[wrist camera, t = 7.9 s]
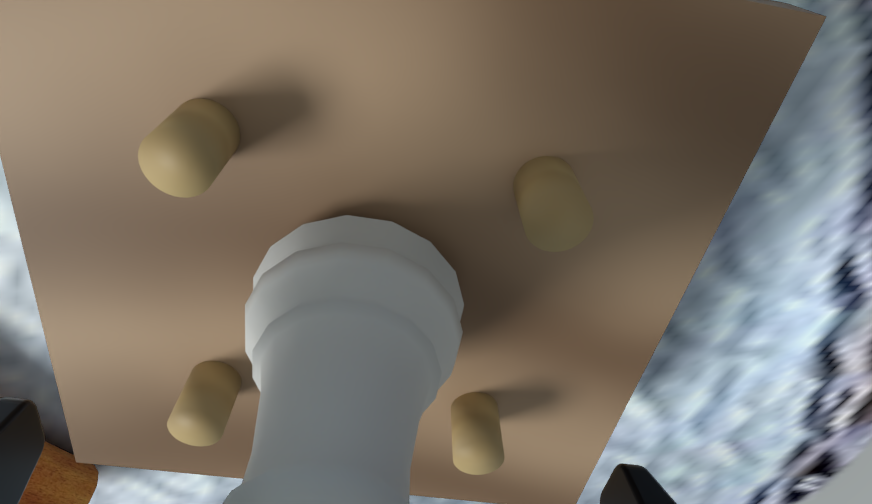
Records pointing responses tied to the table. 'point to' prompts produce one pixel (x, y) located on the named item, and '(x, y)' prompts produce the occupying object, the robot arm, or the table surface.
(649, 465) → the table surface
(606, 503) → the robot arm
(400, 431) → the rook chess piece
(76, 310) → the peg board
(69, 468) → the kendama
